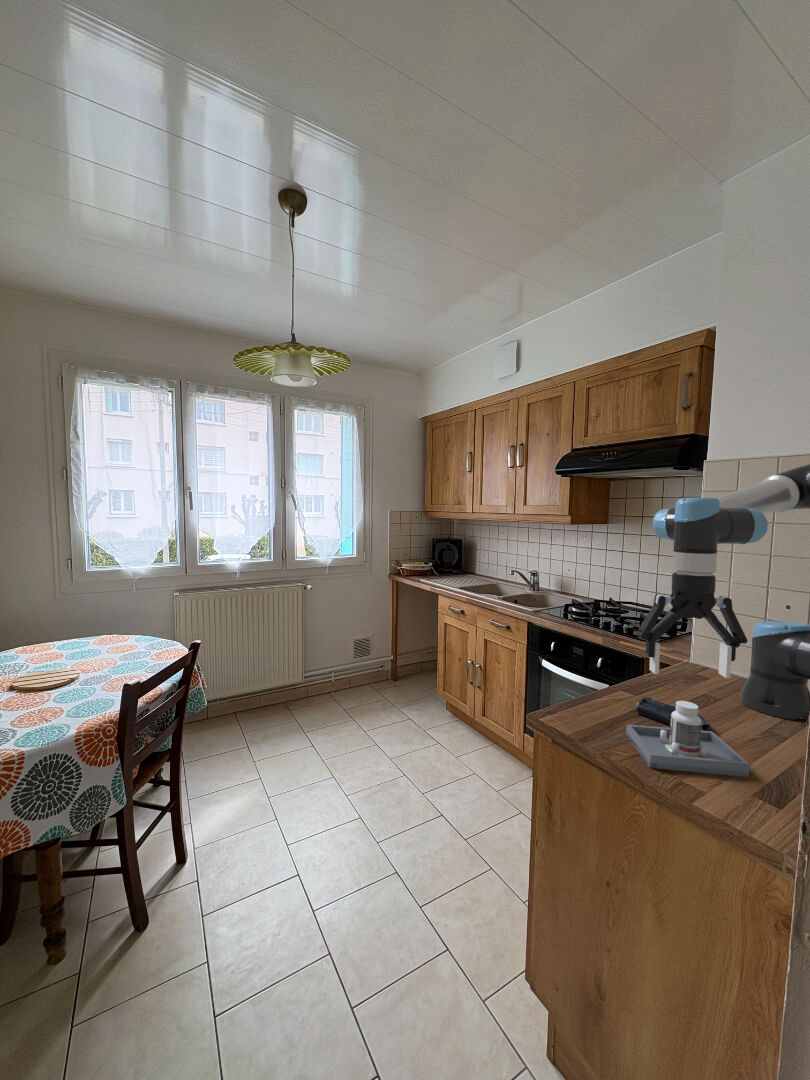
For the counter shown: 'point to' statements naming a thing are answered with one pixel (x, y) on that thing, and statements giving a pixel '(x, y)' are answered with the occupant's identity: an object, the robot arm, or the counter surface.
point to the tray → (709, 760)
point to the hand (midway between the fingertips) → (688, 674)
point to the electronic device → (661, 711)
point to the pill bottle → (686, 728)
